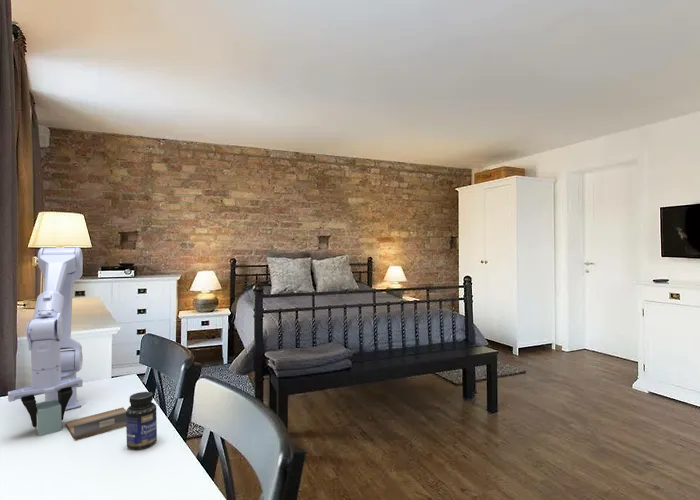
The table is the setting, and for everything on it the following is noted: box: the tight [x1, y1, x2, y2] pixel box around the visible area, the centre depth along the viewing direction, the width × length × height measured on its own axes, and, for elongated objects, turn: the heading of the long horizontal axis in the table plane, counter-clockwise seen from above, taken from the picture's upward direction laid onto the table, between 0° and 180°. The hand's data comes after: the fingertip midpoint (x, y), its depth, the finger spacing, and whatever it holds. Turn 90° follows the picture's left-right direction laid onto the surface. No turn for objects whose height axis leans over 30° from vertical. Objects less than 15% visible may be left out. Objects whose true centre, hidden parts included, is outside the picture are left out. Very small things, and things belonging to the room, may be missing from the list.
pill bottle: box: [125, 391, 158, 451], centre depth 95 cm, size 6×6×11 cm
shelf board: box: [65, 407, 127, 441], centre depth 105 cm, size 11×13×3 cm
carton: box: [34, 399, 63, 437], centre depth 102 cm, size 5×6×6 cm
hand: (47, 422), depth 102 cm, fingers closed on carton, 5 cm apart
